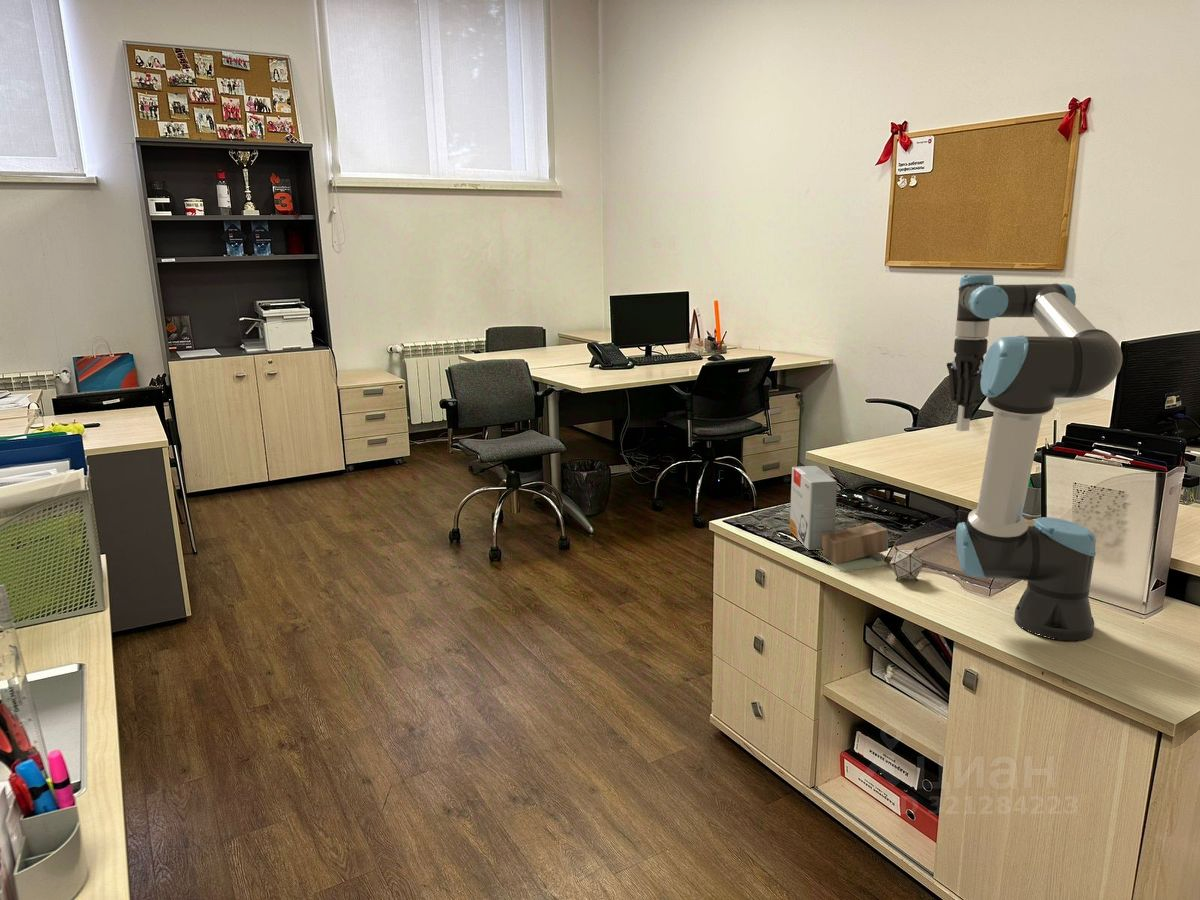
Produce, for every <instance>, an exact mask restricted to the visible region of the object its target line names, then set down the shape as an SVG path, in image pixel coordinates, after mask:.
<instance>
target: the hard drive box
mask: <svg viewBox="0 0 1200 900" xmlns="http://www.w3.org/2000/svg"><path fill="white" fill-rule="evenodd" d="M790 486H791V487H790V505H789V506H790V511H789V512H790V513H789V533H790V534H791V533H792V534H793V535H794V536H795V537H796V538H797V539H798V540H799V541H800V542H801V543H802V544H803V545H804V546H805V547H806V548H807V549H808V550H816V549H822V535H826V534H830V533H834V532H835V528H836V527H835V526H836V525H835V524H836V509H837V507H836V506H837V493H838V492H837V488H838V481H837V480H836V479H834V478H833V477H832V476H830V475H829V474H828V473H826V472H825V471H824V470H823V469H821V468H820V467H818V466H817V465H805V466H803V465H802V466H792V467H791V484H790ZM793 535H792V536H793ZM794 536H793V537H794ZM795 537H794V538H795ZM796 538H795V539H796ZM797 539H796V540H797ZM798 540H797V541H798ZM799 541H798V542H799ZM800 542H799V543H800ZM801 543H800V544H801ZM802 544H801V545H802ZM805 547H804V548H805ZM806 548H805V549H806ZM807 549H806V550H807ZM808 550H807V551H808Z"/></svg>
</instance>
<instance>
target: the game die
mask: <svg viewBox="0 0 1200 900" xmlns="http://www.w3.org/2000/svg"><path fill="white" fill-rule="evenodd" d="M894 549H895V552H894V553H893V556H892V557H891V560H890V562H886V564H887V565H886V566H889V567H890V568H891V569H892V571H893V573H894V575H895V576H896V579H895V581H896V582H898V580H899V579H906V580H907V579H910V580H911V579H914V581H916V582H919V579H918V578H917V577H918V576H919V574H920V572H921V570H922V569H923V566H924V567H926V566H928V564H927V563H923V561H922V559H921V557H920V556H919V554H918V552H917V550H918V547H917V546H916V547H914V548H913V549H898V547H896V546H894Z"/></svg>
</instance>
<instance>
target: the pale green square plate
mask: <svg viewBox="0 0 1200 900" xmlns="http://www.w3.org/2000/svg"><path fill="white" fill-rule="evenodd" d="M816 552H817V551H816ZM818 552H820V553H821V552H822V553H821V555H822V554H823V550H819V551H818ZM818 555H819V554H818ZM822 557H823V555H822ZM882 557H883V556H882V555H879V553H876V554H873V555H869V556H865V557H861V558H858V559H854V560H850V561H847V562H843V563H839V564H834V563H833V562H831V561H830V560H828V559H826V558H825V557H823V558H824V559H826V560H827V561H829V562H830V563H831V564H830V563H829V562H828V563H829V564H830V565H832V564H833V565H834V566H833V567H835V568H837V569H839V570H840V571H842V573H848V572H853V571H858V570H865V569H871V568H877V567H883V566H888V565H887V564H886V563H887V562H886V561H884V560H882ZM824 559H823V560H824ZM827 561H826V562H827ZM847 571H848V572H847Z"/></svg>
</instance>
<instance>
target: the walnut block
mask: <svg viewBox="0 0 1200 900" xmlns="http://www.w3.org/2000/svg"><path fill="white" fill-rule="evenodd" d="M888 531H889V530H888V528H886V527H884V526H882V525H879V524H878V523H876V522H869V523H865V524H862V525H858V526H853V527H849V528H847V529H843V530H837V531H834V533H830V534H826V535H822V549H823V557H825V558H826V559H828V560H830V561H831V562H833V563H834V564H839V563H843V562H847V561H850V560H854V559H858V558H861V557H865V556H869V555H873V554H880V553H883V552H887V551H889V535H888V533H889V532H888Z"/></svg>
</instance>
